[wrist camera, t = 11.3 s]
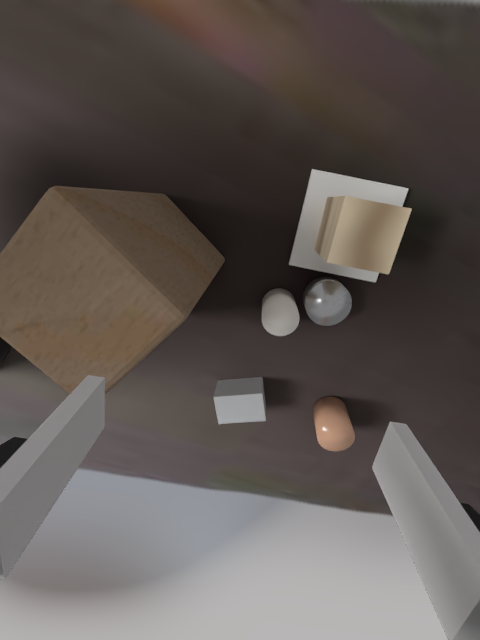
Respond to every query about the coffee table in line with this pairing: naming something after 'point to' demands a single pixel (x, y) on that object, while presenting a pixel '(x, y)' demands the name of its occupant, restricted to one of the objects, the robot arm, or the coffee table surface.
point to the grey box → (240, 400)
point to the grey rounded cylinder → (279, 312)
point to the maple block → (361, 233)
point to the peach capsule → (333, 424)
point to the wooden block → (100, 281)
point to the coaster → (312, 214)
